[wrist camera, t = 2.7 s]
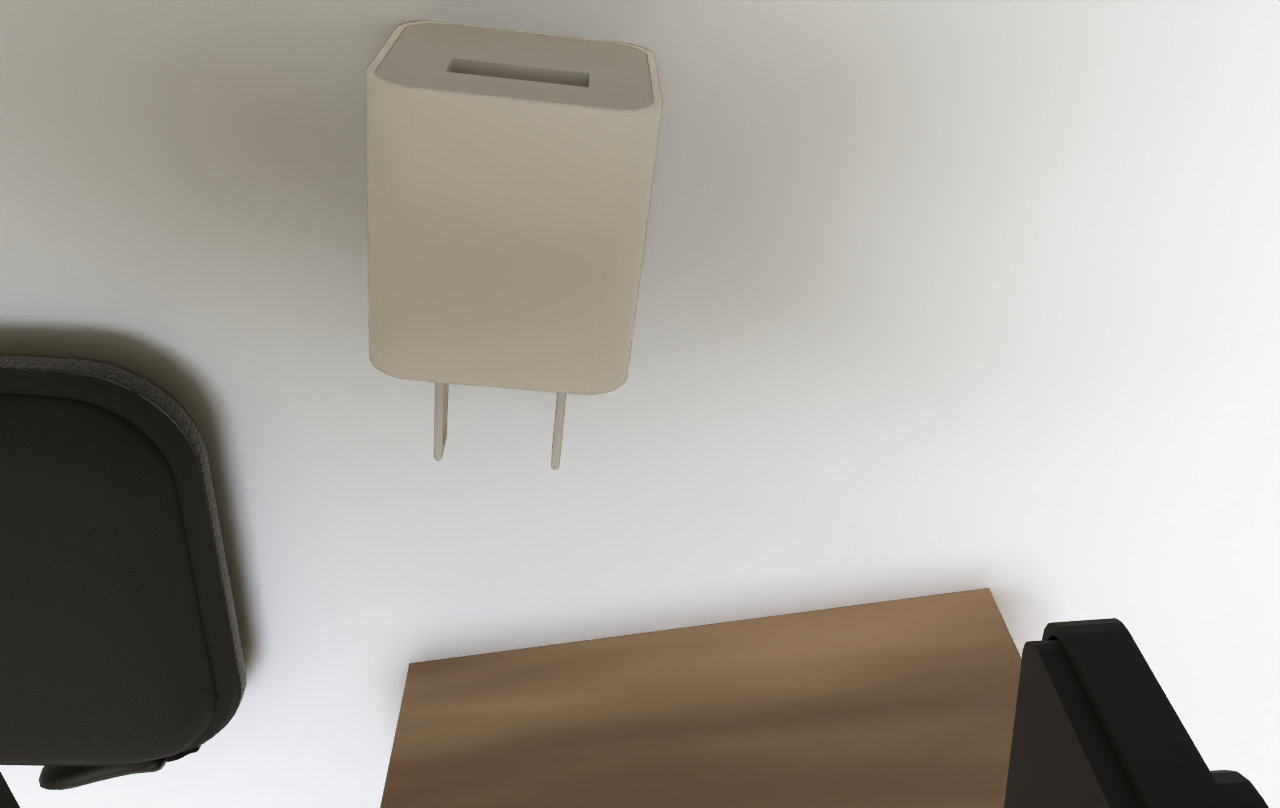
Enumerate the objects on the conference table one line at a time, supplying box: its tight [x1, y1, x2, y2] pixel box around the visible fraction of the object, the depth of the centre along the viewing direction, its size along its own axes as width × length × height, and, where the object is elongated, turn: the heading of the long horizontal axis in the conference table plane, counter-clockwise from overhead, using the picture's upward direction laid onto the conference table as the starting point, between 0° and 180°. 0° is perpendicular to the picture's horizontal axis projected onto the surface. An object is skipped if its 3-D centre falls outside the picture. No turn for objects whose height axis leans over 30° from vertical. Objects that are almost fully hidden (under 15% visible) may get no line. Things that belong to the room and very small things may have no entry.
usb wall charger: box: [366, 21, 662, 470], centre depth 18 cm, size 4×7×4 cm, turn 173°
